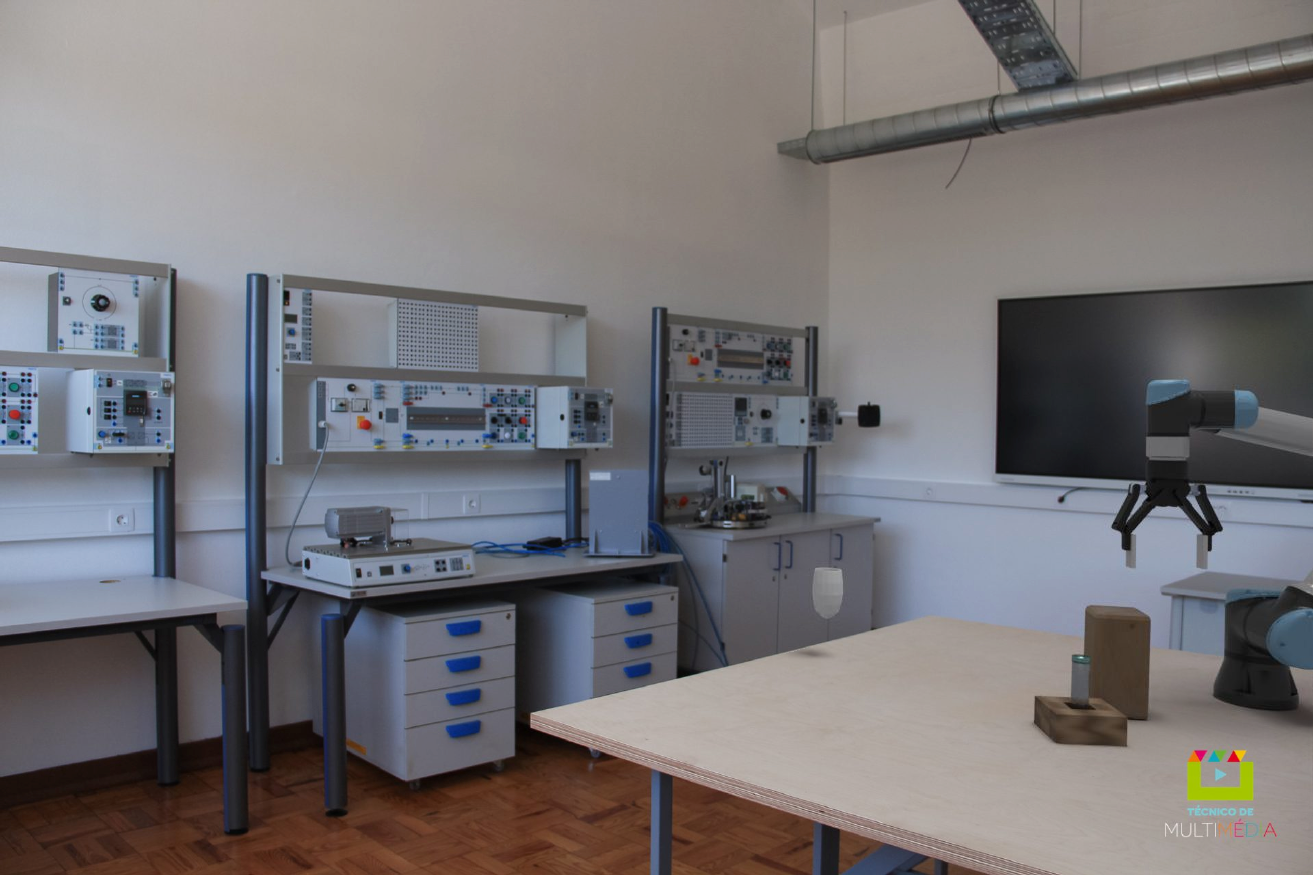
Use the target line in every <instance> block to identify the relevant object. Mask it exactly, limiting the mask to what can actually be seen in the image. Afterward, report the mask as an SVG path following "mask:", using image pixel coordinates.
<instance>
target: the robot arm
mask: <svg viewBox="0 0 1313 875" xmlns="http://www.w3.org/2000/svg"><path fill="white" fill-rule="evenodd" d="M1145 406H1146V408H1145V410H1146V413H1145V414H1146V434H1145V435H1146V436H1145V443H1146V444H1145V446H1146V447H1145V456H1146V458H1149V459H1148V460H1146V461H1145V484H1139V483H1133V482H1131V483H1129V484H1128V489H1127V490H1128V491H1127V495H1126V497H1125V499H1124V501H1123V502H1122V504H1121V507H1120V509H1119V511H1118V512H1117V514H1116V516H1115V518H1114V519H1113V522H1112V524H1111V526H1110V527H1111V530H1114V531H1117V532H1119V533H1120V534H1121V550H1122V551H1125V567H1126V568H1130V569H1136V568H1137V562H1136V561H1137V534H1133V533H1134V531H1135V530H1136V529H1137V528H1138V526H1139V525H1140V524H1141V523H1142V522H1143V521H1144V519H1145V518H1146V517H1147V516H1148V515H1149V514H1150V513H1151V512H1152V511H1153V510H1154V509H1156V508H1157V507H1160V508H1167V507H1170V508H1180V509H1181V511H1182V512H1184V514H1185V515H1186V517H1187V518H1189V520H1190V521H1191V523H1193V525H1194V526H1195V527H1196V528H1197V529H1198V531H1199V532H1200V533H1197V534H1196V561H1195V562H1196V566H1195V567H1196V568H1198V569H1202V570H1208V564H1209V563H1208V560H1209V559H1208V553H1209V552H1212V550H1213V536H1215V535H1216V533H1221V532H1223V529H1224V527H1223V525H1222V523H1221V521H1220V519H1219V517H1218V515H1217V513H1216V512H1215V510H1214V507H1213V505H1212V503H1211V501H1210V499H1209V497H1208V495H1207V487H1206V485H1205V484H1202V483H1195V484H1192V485H1190V484H1189V478H1190V462H1189V460H1187V459H1188V458H1189V457H1190V434H1191V432H1190V430H1192V431H1196V432H1201V433H1204V434H1210V435H1216V436H1220V437H1223V438H1224V437H1225V438H1230V439H1232V440H1238V441H1242V442H1247V443H1251V444H1255V445H1261V446H1265V447H1269V448H1274V449H1278V450H1282V451H1287V452H1291V453H1295V454H1296V453H1297V454H1299V455H1304V456H1309V457H1313V418H1312V417H1307V416H1303V415H1299V414H1293V413H1288V412H1285V411H1280V410H1277V409H1276V410H1275V409H1270V408H1266V407H1262V406H1259V400H1258V398H1257V397H1256V395H1255V394H1254V393H1253V392H1252V391H1249V390H1238V389H1230V390H1229V389H1227V390H1225V389H1223V390H1221V389H1219V390H1215V389H1212V390H1197V389H1192V387H1191V382H1190V381H1189V380H1188V379H1155V380H1152V381H1150V382H1149V383H1148V385H1147V389H1146V400H1145ZM1143 493H1145V495H1146V496H1147V497H1146V498H1145V499H1144V500H1143V501H1142V502H1141V505H1140V506H1139V507H1138V508H1137V510H1136V511H1135V512H1134V513H1133V514H1132V512H1133V510H1134V508H1135V506H1136V504H1137V502H1138V500H1139V499H1140V496H1142V494H1143ZM1190 493H1191V495H1193V496H1194V499H1195V501H1196V503H1197V505H1198V506H1199V508H1200V511H1201V513H1202V516H1203V517H1202V516H1201V515H1200V514H1199V512H1198V511H1197V510H1196V508H1195V507H1194V506H1193V504H1192V502H1191V501H1190V500H1189V499H1188V498H1187V497H1188V496H1189V494H1190ZM1131 514H1132V515H1131ZM1129 517H1130V518H1129ZM1204 518H1205V519H1204ZM1223 606H1224V638H1223V639H1224V640H1223V641H1224V643H1223V644H1224V646H1223V648H1224V649H1223V650H1224V651H1223V660H1222V662H1221V666H1220V667H1219V671H1218V673H1217V675H1216V677H1215V680H1214V683H1213V690H1212V691H1213V692H1212V694H1213V696H1214V697H1215V698H1217V699H1219V700H1221V701H1224V702H1228V703H1231V704H1235V705H1238V706H1241V707H1247V708H1248V707H1249V708H1256V709H1263V710H1276V711H1278V710H1279V711H1285V710H1286V711H1287V710H1294V709H1297V708H1299V706H1300V694H1299V692H1298V689H1297V685H1296V682H1295V679H1294V676H1293V673H1292V669H1291V668H1295V669H1300V670H1306V671H1307V670H1309V671H1311V670H1313V568H1312V569H1311V570H1310V572H1309V573H1308V574H1307V575H1306V576H1305V578H1304V579H1303V580H1302V581H1301V582H1298V583H1291V584H1288V585H1287V586H1286V588H1285V589H1284V590H1281V589H1280V590H1279V589H1256V588H1231V589H1229V590H1228V591H1227V592H1226V594H1225V602H1224V605H1223Z"/></svg>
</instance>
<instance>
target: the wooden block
mask: <svg viewBox="0 0 1313 875" xmlns="http://www.w3.org/2000/svg"><path fill="white" fill-rule="evenodd" d="M1084 611H1085V612H1084V614H1085V615H1084V635H1083V636H1084V639H1083V640H1084V641H1083V655H1087V656H1090V657H1091V658H1090V682H1089V698H1101V699H1102V700H1104V701H1105V702H1107V703H1108V704H1109V705H1111V706H1112V707H1114V708H1115V709H1117V710H1118V711H1120V712H1121V713H1122V714H1124V715H1125V716H1127V717H1128V720H1129V719H1131V720H1132V719H1133V720H1145V719H1147V718H1148V716H1149V699H1150V694H1149V692H1150V665H1151V664H1150V660H1151V658H1150V657H1151V628H1152V627H1151V626H1152V624H1151V623H1152V620H1151V618H1150V616H1149V615H1148V614H1146V613H1145V612H1143V611H1142V610H1140V609H1138V608H1136V607H1133V606H1131V607H1130V606H1118V605H1117V606H1116V605H1115V606H1114V605H1100V604H1099V605H1096V604H1089V605H1087V606H1086V607H1085V609H1084Z"/></svg>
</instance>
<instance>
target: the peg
mask: <svg viewBox="0 0 1313 875" xmlns="http://www.w3.org/2000/svg"><path fill="white" fill-rule="evenodd" d="M1090 658H1091V657H1090V656H1087V655H1084V654H1080V653H1079V654H1078V653H1076V654H1075V653H1073V654H1071V676H1070V677H1071V682H1070V686H1071V687H1070V697H1071V709H1081V710H1089V682H1090Z"/></svg>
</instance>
